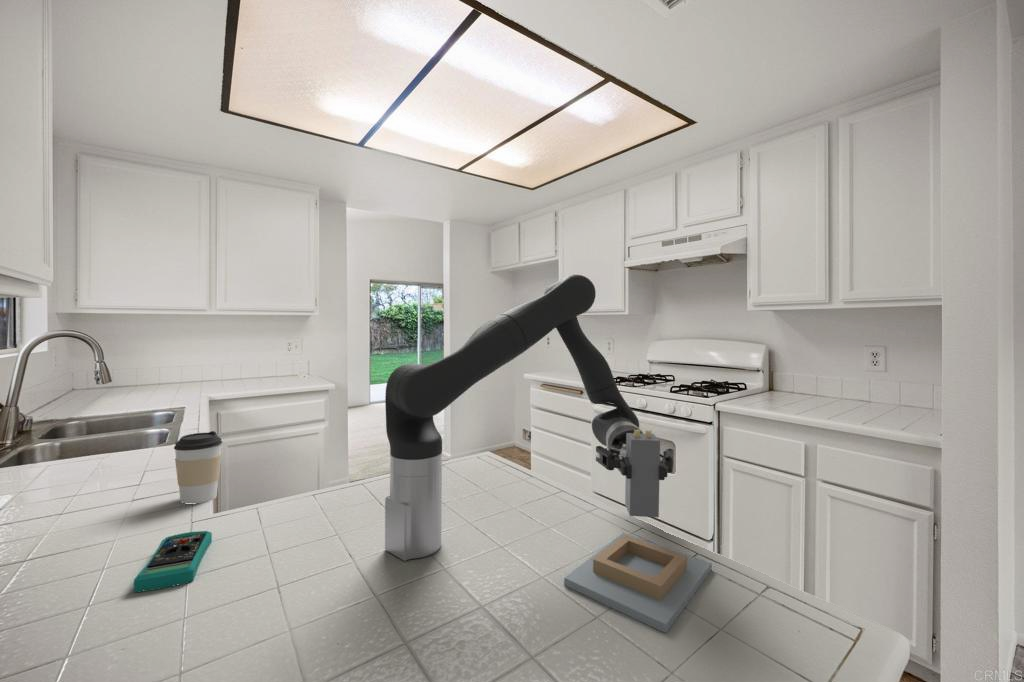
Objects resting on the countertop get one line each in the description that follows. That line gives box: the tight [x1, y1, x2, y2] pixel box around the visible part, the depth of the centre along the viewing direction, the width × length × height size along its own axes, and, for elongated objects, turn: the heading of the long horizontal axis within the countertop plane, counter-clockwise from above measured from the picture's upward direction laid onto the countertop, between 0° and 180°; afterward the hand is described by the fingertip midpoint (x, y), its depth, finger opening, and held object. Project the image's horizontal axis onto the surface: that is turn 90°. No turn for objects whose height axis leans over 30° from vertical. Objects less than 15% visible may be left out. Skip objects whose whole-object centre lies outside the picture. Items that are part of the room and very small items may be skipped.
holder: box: [563, 532, 713, 634], centre depth 69 cm, size 20×16×3 cm
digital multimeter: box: [133, 530, 213, 593], centre depth 72 cm, size 7×15×3 cm, turn 25°
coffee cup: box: [173, 430, 223, 504], centre depth 99 cm, size 9×9×15 cm
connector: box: [624, 429, 661, 518], centre depth 69 cm, size 4×4×13 cm
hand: (645, 473), depth 66 cm, fingers closed on connector, 4 cm apart
